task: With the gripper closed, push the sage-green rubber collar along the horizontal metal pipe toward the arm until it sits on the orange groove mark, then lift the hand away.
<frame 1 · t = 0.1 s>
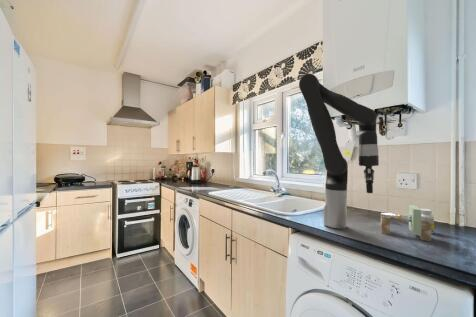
hand: (369, 191, 93), 17 cm above the worktop, tool pointing down, fingers open, 8 cm apart
supplement bottle: (425, 232, 94), on the worktop
metal pipe: (404, 218, 89), point 6 cm above the worktop
collar: (414, 219, 88), point 7 cm above the worktop, slide at 0.0 cm
pipe stand: (403, 234, 89), on the worktop
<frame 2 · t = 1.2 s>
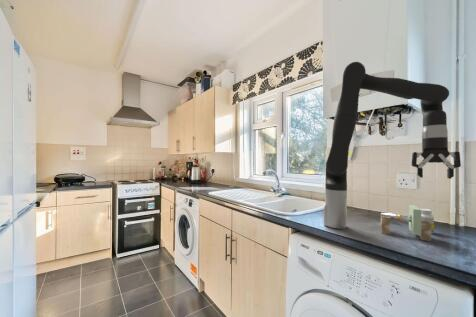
hand: (434, 177, 85), 25 cm above the worktop, tool pointing down, fingers open, 8 cm apart
nothing on the worktop moved.
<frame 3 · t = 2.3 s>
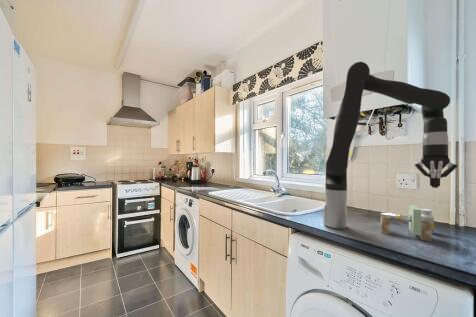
hand: (434, 187, 85), 21 cm above the worktop, tool pointing down, fingers closed
nothing on the worktop moved.
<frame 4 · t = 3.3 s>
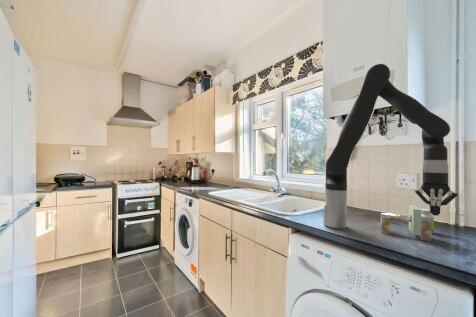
hand: (434, 215, 84), 10 cm above the worktop, tool pointing down, fingers closed
nothing on the worktop moved.
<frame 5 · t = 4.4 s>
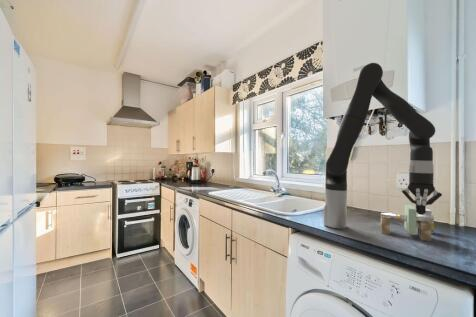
hand: (420, 214, 87), 9 cm above the worktop, tool pointing down, fingers closed
collar: (410, 218, 88), point 7 cm above the worktop, slide at 1.5 cm, touching gripper
everything else where it was.
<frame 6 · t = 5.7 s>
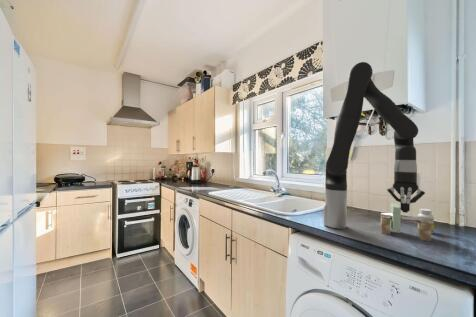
hand: (405, 212, 89), 10 cm above the worktop, tool pointing down, fingers closed
collar: (395, 217, 91), point 7 cm above the worktop, slide at 6.5 cm, touching gripper
everything else where it was.
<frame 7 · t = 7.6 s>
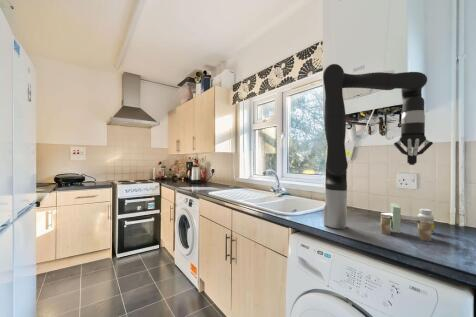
hand: (411, 164, 88), 30 cm above the worktop, tool pointing down, fingers closed
collar: (395, 217, 91), point 7 cm above the worktop, slide at 6.5 cm
everything else where it was.
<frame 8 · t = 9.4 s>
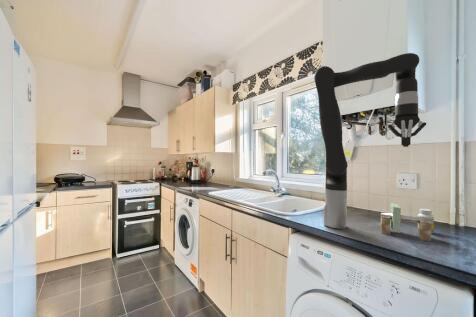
hand: (405, 146, 87), 37 cm above the worktop, tool pointing down, fingers closed
nothing on the worktop moved.
at the end: collar slide at 6.5 cm; supplement bottle moved 0.2 cm from its start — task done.
